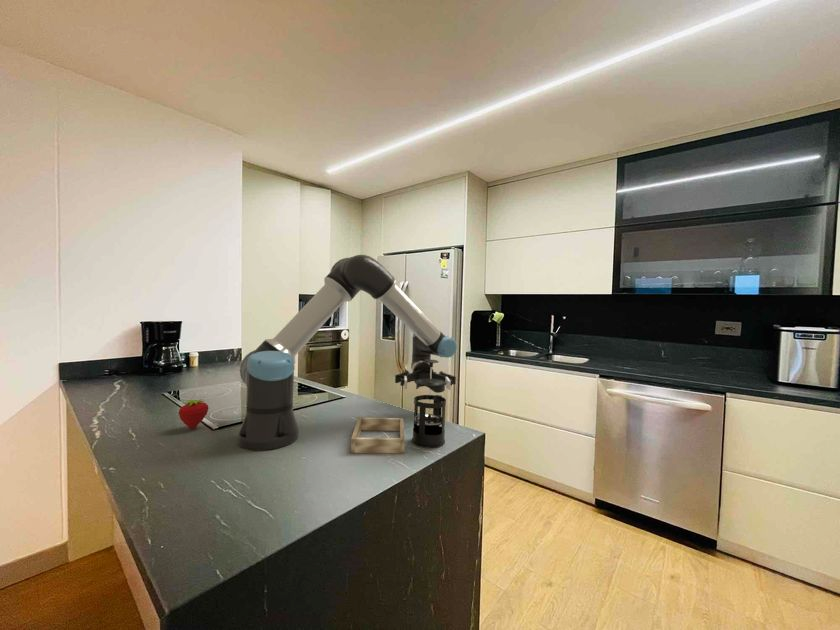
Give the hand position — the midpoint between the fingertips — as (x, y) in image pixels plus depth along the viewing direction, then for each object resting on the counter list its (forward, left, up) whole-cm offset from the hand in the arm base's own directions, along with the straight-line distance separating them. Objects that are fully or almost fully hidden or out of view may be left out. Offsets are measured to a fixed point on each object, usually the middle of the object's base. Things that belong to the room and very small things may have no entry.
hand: (427, 385), depth 104 cm
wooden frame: (-14, -10, -14) cm, 22 cm away
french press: (0, -10, -14) cm, 17 cm away
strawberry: (-68, -2, -14) cm, 69 cm away
